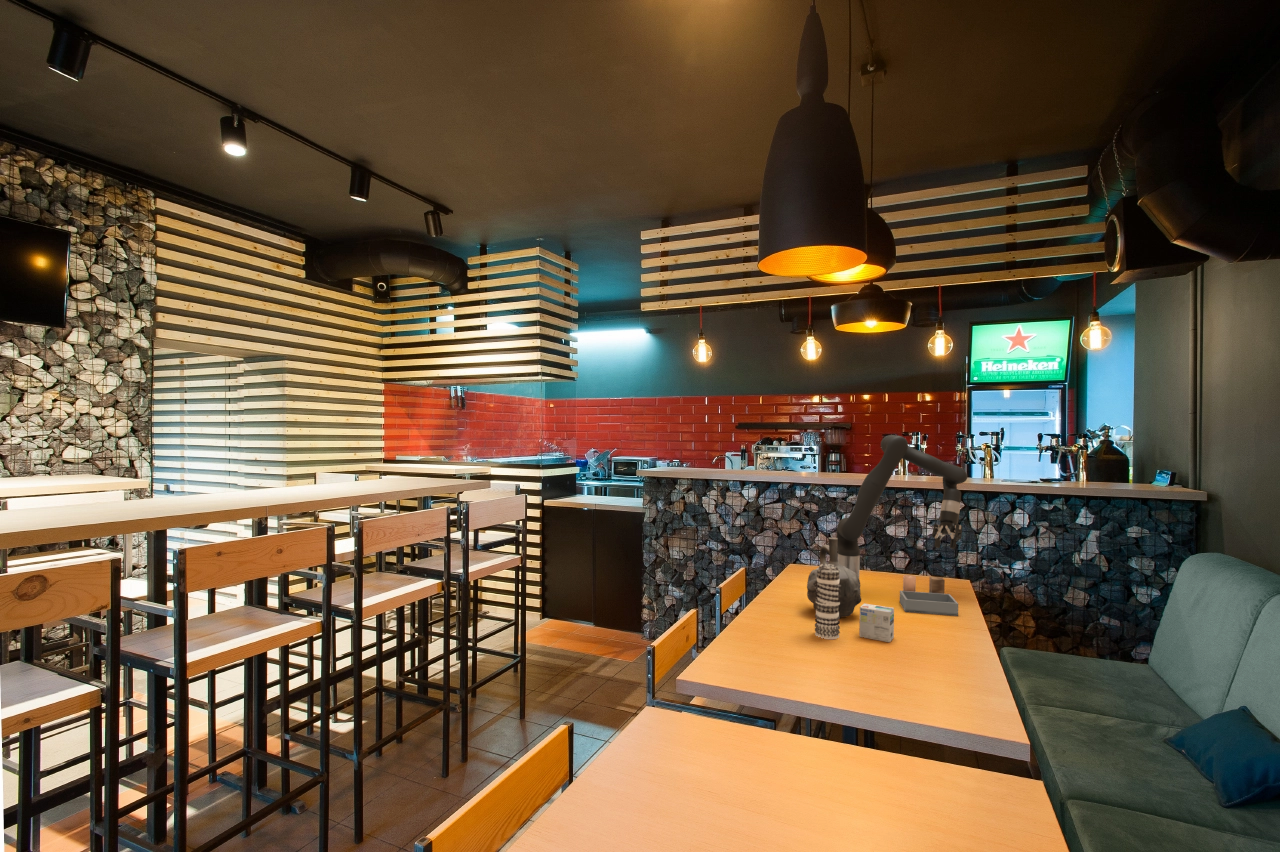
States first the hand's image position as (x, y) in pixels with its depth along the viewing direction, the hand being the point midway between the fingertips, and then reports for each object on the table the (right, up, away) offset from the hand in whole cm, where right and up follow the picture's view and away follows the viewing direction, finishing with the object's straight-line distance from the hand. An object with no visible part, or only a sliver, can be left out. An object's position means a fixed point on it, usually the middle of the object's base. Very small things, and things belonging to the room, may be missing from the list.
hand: (944, 548), depth 281 cm
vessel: (-56, -22, -24) cm, 65 cm away
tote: (-15, -22, -16) cm, 31 cm away
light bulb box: (-49, -22, -53) cm, 75 cm away
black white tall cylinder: (-66, -22, -52) cm, 87 cm away
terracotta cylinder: (-16, -22, -2) cm, 27 cm away
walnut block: (-6, -22, -5) cm, 23 cm away
